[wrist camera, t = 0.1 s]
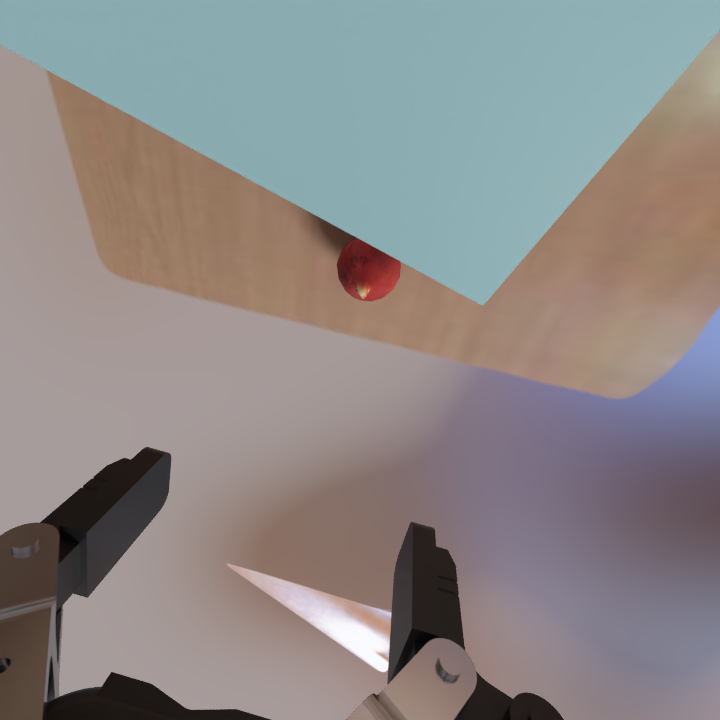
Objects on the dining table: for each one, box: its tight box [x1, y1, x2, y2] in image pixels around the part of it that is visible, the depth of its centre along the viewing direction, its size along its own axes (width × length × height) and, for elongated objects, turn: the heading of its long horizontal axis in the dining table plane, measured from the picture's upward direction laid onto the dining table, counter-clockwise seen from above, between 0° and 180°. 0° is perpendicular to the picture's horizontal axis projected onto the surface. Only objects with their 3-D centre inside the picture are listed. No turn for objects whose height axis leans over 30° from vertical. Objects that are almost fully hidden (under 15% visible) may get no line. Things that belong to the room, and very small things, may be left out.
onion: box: [337, 238, 401, 301], centre depth 38 cm, size 6×6×8 cm
